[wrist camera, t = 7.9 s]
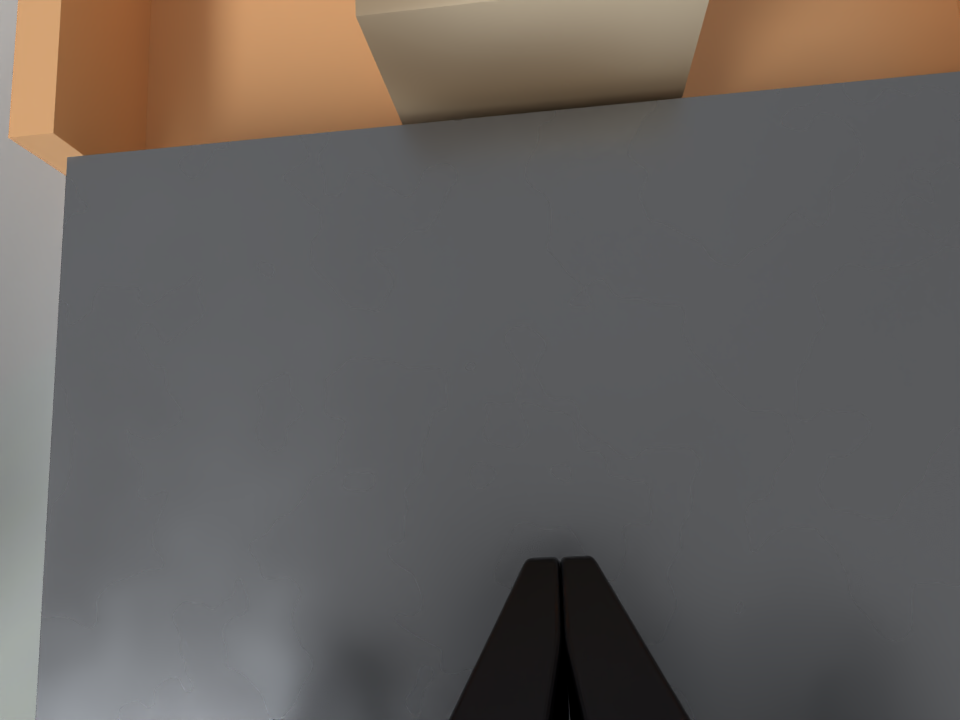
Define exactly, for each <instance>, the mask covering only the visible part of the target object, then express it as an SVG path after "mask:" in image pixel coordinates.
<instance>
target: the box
mask: <svg viewBox="0 0 960 720" xmlns="http://www.w3.org/2000/svg"><path fill="white" fill-rule="evenodd" d="M958 71H960V0H709V3H708V6H707V10H706V13H705V17H704V21H703V24H702V28H701V31H700V35H699V39H698V42H697V46H696V49H695V53H694V57H693V60H692V64H691V67H690V71H689V75H688V78H687V82H686V85H685V89H684V93H683V96H682V98H688V97H698V96H709V95H719V94H729V93H740V92H750V91H761V90H771V89H781V88H792V87H802V86H813V85H823V84H833V83H844V82H854V81H865V80H875V79H885V78H896V77H906V76H916V75H927V74H937V73H948V72H958ZM397 125H403V124H402V122H401V120H400V118H399V115H398V113H397V111H396V108H395V106H394V104H393V101H392V99H391V97H390V94H389V92H388V90H387V87H386V85H385V83H384V81H383V78H382V76H381V74H380V71H379V69H378V67H377V64H376V62H375V60H374V57H373V55H372V53H371V50H370V48H369V46H368V43H367V41H366V39H365V37H364V34H363V32H362V30H361V27H360V25H359V23H358V20H357V18H356V5H355V0H18V11H17V25H16V39H15V53H14V67H13V80H12V94H11V108H10V122H9V136H8V138H10V139H11V140H13V141H14V142H16V143H17V144H19V145H20V146H22V147H23V148H25V149H26V150H28V151H29V152H31V153H32V154H34V155H35V156H37V157H38V158H40V159H41V160H43V161H44V162H46V163H47V164H49V165H50V166H52V167H54V168H55V169H57V170H58V171H60V172H61V173H63V174H64V175H66V170H67V157H75V156H85V155H95V154H106V153H116V152H127V151H137V150H147V149H158V148H168V147H179V146H189V145H199V144H210V143H220V142H231V141H241V140H251V139H262V138H272V137H282V136H293V135H303V134H314V133H324V132H334V131H345V130H355V129H366V128H376V127H386V126H397Z"/></svg>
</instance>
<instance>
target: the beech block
mask: <svg viewBox="0 0 960 720" xmlns="http://www.w3.org/2000/svg"><path fill="white" fill-rule="evenodd" d="M708 3H709V0H355V5H356V18H357V20H358V23H359V25H360V27H361V30H362V32H363V34H364V37H365V39H366V41H367V43H368V46H369V48H370V50H371V53H372V55H373V57H374V60H375V62H376V64H377V67H378V69H379V71H380V74H381V76H382V78H383V81H384V83H385V85H386V87H387V90H388V92H389V94H390V97H391V99H392V101H393V104H394V106H395V108H396V111H397V113H398V115H399V118H400V120H401V122H402V124H403V125H407V124H418V123H428V122H438V121H449V120H459V119H470V118H480V117H490V116H501V115H511V114H522V113H532V112H542V111H553V110H563V109H573V108H584V107H594V106H605V105H615V104H625V103H636V102H646V101H657V100H667V99H677V98H682V96H683V93H684V89H685V85H686V82H687V78H688V75H689V71H690V67H691V64H692V60H693V57H694V53H695V49H696V46H697V42H698V39H699V35H700V31H701V28H702V24H703V21H704V17H705V13H706V10H707V6H708Z"/></svg>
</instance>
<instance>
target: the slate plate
mask: <svg viewBox="0 0 960 720" xmlns="http://www.w3.org/2000/svg"><path fill="white" fill-rule="evenodd" d="M566 556H592V557H593V558H594V559H595V560H596V561H597V563H598V565H599V566H600V568H601V570H602V571H603V573H604V575H605V576H606V578H607V580H608V581H609V583H610V585H611V586H612V588H613V590H614V591H615V593H616V595H617V597H618V598H619V600H620V602H621V603H622V605H623V607H624V608H625V610H626V612H627V613H628V615H629V617H630V618H631V620H632V622H633V623H634V625H635V627H636V629H637V630H638V632H639V634H640V635H641V637H642V639H643V640H644V642H645V644H646V645H647V647H648V649H649V650H650V652H651V654H652V655H653V657H654V659H655V660H656V662H657V664H658V666H659V667H660V669H661V671H662V672H663V674H664V676H665V677H666V679H667V681H668V682H669V684H670V686H671V687H672V689H673V691H674V692H675V694H676V696H677V698H678V699H679V701H680V703H681V704H682V706H683V708H684V709H685V711H686V713H687V714H688V716H689V718H690V719H691V720H960V71H958V72H948V73H937V74H927V75H916V76H906V77H896V78H885V79H875V80H865V81H854V82H844V83H833V84H823V85H813V86H802V87H792V88H781V89H771V90H761V91H750V92H740V93H729V94H719V95H709V96H698V97H688V98H677V99H667V100H657V101H646V102H636V103H625V104H615V105H605V106H594V107H584V108H573V109H563V110H553V111H542V112H532V113H522V114H511V115H501V116H490V117H480V118H470V119H459V120H449V121H438V122H428V123H418V124H407V125H397V126H386V127H376V128H366V129H355V130H345V131H334V132H324V133H314V134H303V135H293V136H282V137H272V138H262V139H251V140H241V141H231V142H220V143H210V144H199V145H189V146H179V147H168V148H158V149H147V150H137V151H127V152H116V153H106V154H95V155H85V156H75V157H67V170H66V188H65V206H64V223H63V241H62V259H61V276H60V294H59V312H58V329H57V347H56V365H55V382H54V400H53V418H52V435H51V453H50V471H49V488H48V506H47V524H46V541H45V559H44V577H43V594H42V612H41V630H40V647H39V665H38V683H37V700H36V718H35V720H449V718H450V716H451V714H452V712H453V710H454V708H455V706H456V703H457V701H458V699H459V697H460V695H461V693H462V691H463V689H464V687H465V685H466V683H467V681H468V678H469V676H470V674H471V672H472V670H473V668H474V666H475V664H476V662H477V660H478V658H479V656H480V654H481V651H482V649H483V647H484V645H485V643H486V641H487V639H488V637H489V635H490V633H491V631H492V629H493V626H494V624H495V622H496V620H497V618H498V616H499V614H500V612H501V610H502V608H503V606H504V604H505V601H506V599H507V597H508V595H509V593H510V591H511V589H512V587H513V585H514V583H515V581H516V579H517V577H518V574H519V572H520V570H521V568H522V566H523V564H524V563H525V561H526V560H527V559H529V558H538V557H556V558H557V559H558V560H559V562H560V561H561V559H562V558H563V557H566ZM569 717H570V712H569Z"/></svg>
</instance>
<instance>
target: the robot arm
mask: <svg viewBox="0 0 960 720" xmlns="http://www.w3.org/2000/svg"><path fill="white" fill-rule="evenodd" d="M569 712H570V717H569ZM449 720H691V719H690V718H689V716H688V714H687V713H686V711H685V709H684V708H683V706H682V704H681V703H680V701H679V699H678V698H677V696H676V694H675V692H674V691H673V689H672V687H671V686H670V684H669V682H668V681H667V679H666V677H665V676H664V674H663V672H662V671H661V669H660V667H659V666H658V664H657V662H656V660H655V659H654V657H653V655H652V654H651V652H650V650H649V649H648V647H647V645H646V644H645V642H644V640H643V639H642V637H641V635H640V634H639V632H638V630H637V629H636V627H635V625H634V623H633V622H632V620H631V618H630V617H629V615H628V613H627V612H626V610H625V608H624V607H623V605H622V603H621V602H620V600H619V598H618V597H617V595H616V593H615V591H614V590H613V588H612V586H611V585H610V583H609V581H608V580H607V578H606V576H605V575H604V573H603V571H602V570H601V568H600V566H599V565H598V563H597V561H596V560H595V559H594V558H593V557H592V556H566V557H563V558H562V559H561V561H560V562H559V560H558V559H557V558H556V557H538V558H529V559H527V560H526V561H525V563H524V564H523V566H522V568H521V570H520V572H519V574H518V577H517V579H516V581H515V583H514V585H513V587H512V589H511V591H510V593H509V595H508V597H507V599H506V601H505V604H504V606H503V608H502V610H501V612H500V614H499V616H498V618H497V620H496V622H495V624H494V626H493V629H492V631H491V633H490V635H489V637H488V639H487V641H486V643H485V645H484V647H483V649H482V651H481V654H480V656H479V658H478V660H477V662H476V664H475V666H474V668H473V670H472V672H471V674H470V676H469V678H468V681H467V683H466V685H465V687H464V689H463V691H462V693H461V695H460V697H459V699H458V701H457V703H456V706H455V708H454V710H453V712H452V714H451V716H450V718H449Z"/></svg>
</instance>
